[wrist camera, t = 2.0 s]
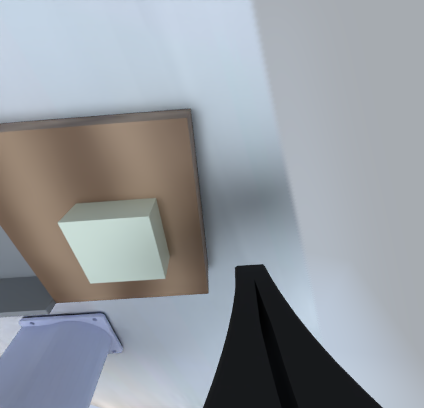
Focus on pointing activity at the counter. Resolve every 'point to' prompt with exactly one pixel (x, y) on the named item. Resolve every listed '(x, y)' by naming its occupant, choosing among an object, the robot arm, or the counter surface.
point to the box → (20, 284)
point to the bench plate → (102, 195)
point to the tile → (117, 240)
